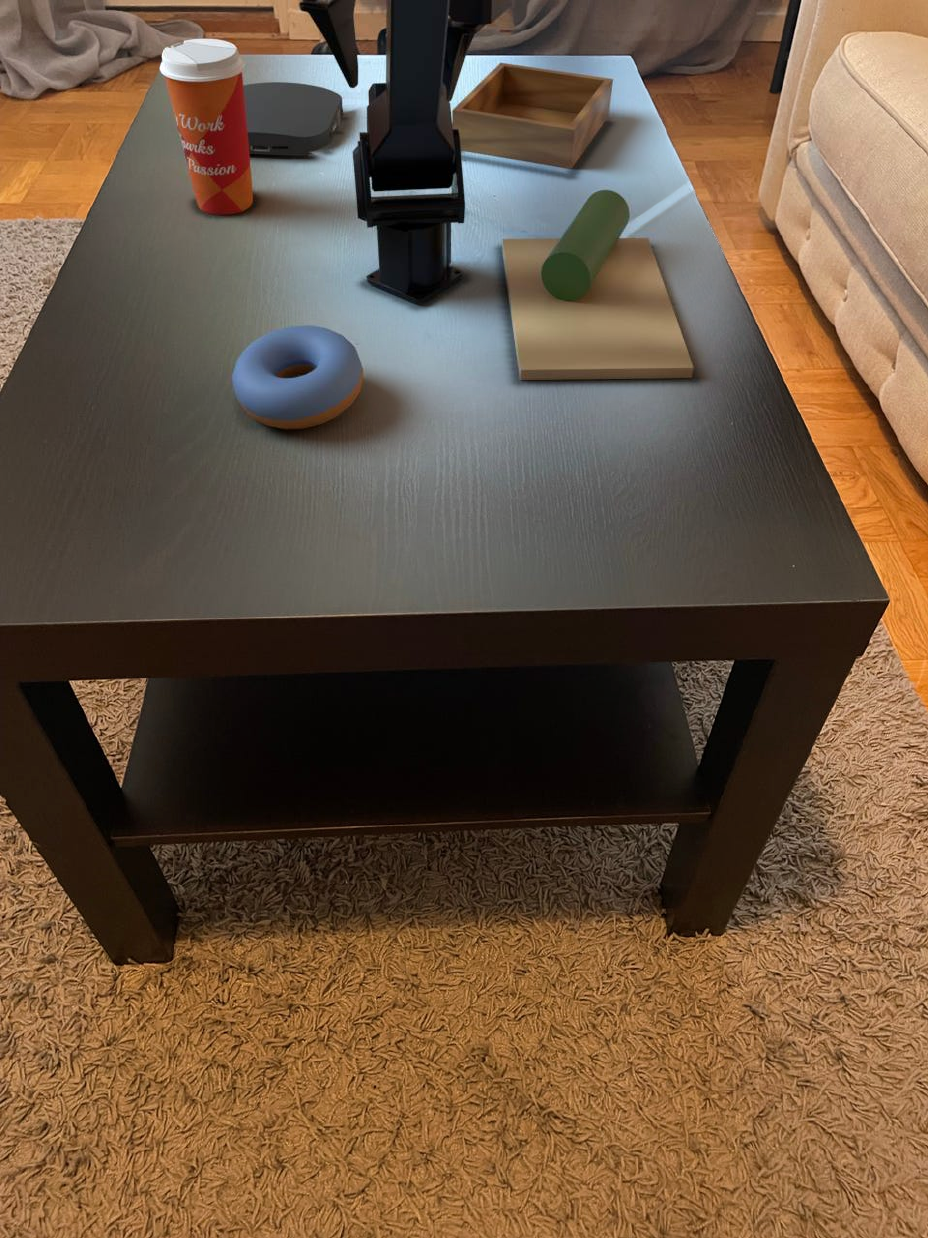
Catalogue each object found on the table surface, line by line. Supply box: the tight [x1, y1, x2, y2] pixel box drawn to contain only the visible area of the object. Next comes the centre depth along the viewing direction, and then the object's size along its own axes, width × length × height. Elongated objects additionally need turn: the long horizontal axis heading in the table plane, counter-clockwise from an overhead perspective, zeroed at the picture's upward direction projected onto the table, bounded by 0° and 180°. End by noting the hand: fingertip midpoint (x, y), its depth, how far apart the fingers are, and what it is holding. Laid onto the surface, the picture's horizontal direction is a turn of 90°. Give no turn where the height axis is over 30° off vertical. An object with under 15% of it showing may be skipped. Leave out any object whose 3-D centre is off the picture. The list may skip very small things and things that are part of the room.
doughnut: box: [231, 324, 364, 430], centre depth 74 cm, size 10×10×5 cm
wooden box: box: [451, 62, 614, 170], centre depth 109 cm, size 16×14×5 cm
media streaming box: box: [243, 81, 344, 156], centre depth 110 cm, size 15×15×3 cm
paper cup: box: [159, 38, 254, 216], centre depth 94 cm, size 8×8×14 cm
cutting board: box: [501, 237, 695, 381], centre depth 86 cm, size 22×14×1 cm, turn 2°
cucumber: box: [541, 189, 630, 301], centre depth 88 cm, size 4×4×14 cm
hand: (400, 93), depth 88 cm, fingers open, 9 cm apart
